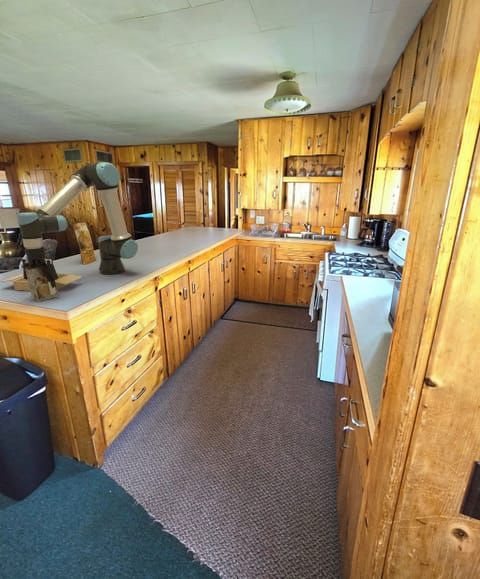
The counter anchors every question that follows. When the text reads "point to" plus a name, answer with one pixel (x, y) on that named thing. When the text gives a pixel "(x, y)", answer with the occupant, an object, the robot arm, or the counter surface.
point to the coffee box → (39, 284)
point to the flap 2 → (67, 279)
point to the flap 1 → (14, 278)
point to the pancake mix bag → (84, 242)
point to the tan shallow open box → (24, 285)
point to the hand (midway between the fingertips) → (44, 293)
